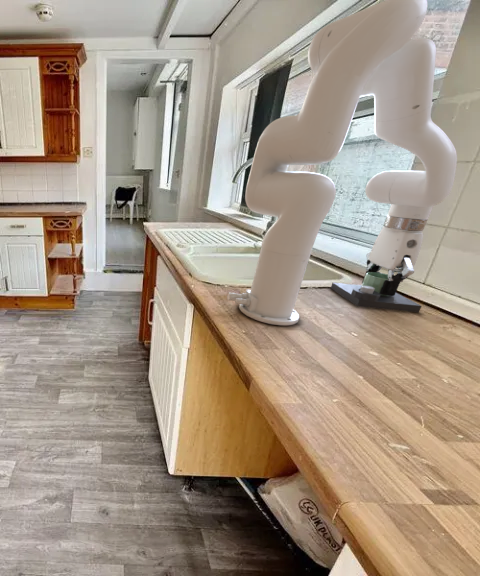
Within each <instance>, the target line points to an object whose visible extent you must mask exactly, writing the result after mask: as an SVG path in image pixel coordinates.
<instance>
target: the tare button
mask: <svg viewBox="0 0 480 576" xmlns="http://www.w3.org/2000/svg"><path fill="white" fill-rule="evenodd" d="M374 289H375V288H373V287H370V286H364V285H363V286H362V287H361V289H360V291H361V292H364V293H368V294H373V292H374Z"/></svg>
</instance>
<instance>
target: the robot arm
mask: <svg viewBox="0 0 480 576" xmlns="http://www.w3.org/2000/svg"><path fill="white" fill-rule="evenodd" d="M427 12H428V0H383V1H381V2H378V3H376V4H374V5H371V6H369V7H366V8H363V9H361V10H359V11H358V12H354V13H352V14H349V15H347V16H345V17H342V18H339V19H337V20H335V21H332V22H331V23H329V24H327V25H325V26H324V27H322V28H321V29H320V30H318V31H317V33H315V35H314V37H313V38H312V40H311V42H310V44H309V46H308V51H307V62H308V66H309V68H310V69H311V71H312V72H313V73H314V74H313V76H312V78H311V80H310V82H309V85H308V87H307V91H306V94H305V97H304V99H303V102H302V106H301V108H300V110H299V113H297V114H294V115H287V116H282V117H279V118H276V119H275V120H273V121H271V123H270V122H269V124H268V125H267V126H266V127H265V128H264V130H263V131H262V133H261V134H260V136H259V138H258V140H257V144H256V147H255V151H254V155H253V159H252V162H251V166H250V171H249V175H248V179H247V183H246V187H245V193H244V194H245V196H244V197H245V198H244V199H245V204H246V206H247V208H248V209H249V210H250V211H251V212H253V213H255V214H259V215H262V216H263V215H264V216H269V217H273V218H277V219H276V220H275V221H274V223H273V224H272V225H271V226H270V227H269V228H268V230H267V231H266V232H265V234H264V236H263V238H262V241H261V246H260V251H259V255H258V259H257V263H256V267H255V271H254V275H253V279H252V283H251V287H250V289H246V290H245V292H241V293H236V292H227V296H226V301H233V302H234V304H235V305H238V308H239V311H240V312H241V313H242V314H244V315H245V316H247V317H249V318H251V319H252V320H256V321H258V322H261V323H265V324H269V325H275V326H292V325H295V324H297V323H298V322H299V320H300V314H299V313H298V312H297V311H296V309H295V305H296V302H297V299H298V296H299V293H300V290H301V286H302V283H303V280H304V277H305V274H306V271H307V267H308V263H309V261H310V257H311V255H312V252H313V248H314V245H315V242H316V239H317V236H318V234H319V231H320V229H321V226H322V225H323V223H324V221H325V219H326V217H327V215H328V213H329V211H330V210H331V208H332V206H333V204H334V202H335V198H336V195H337V188H336V185H335V182H334V181H333V179H331V178H330V177H328V176H327V175H325V174H322V173H318V172H310V171H288V168H289V166H314V165H315V166H317V165H324V164H327V163H329V162H331V161H333V160H334V159H335V158H336V157H337V156H338V155H339V153H340V152H341V150H342V148H343V146H344V143H345V141H346V138H347V135H348V133H349V130H350V127H351V123H352V121H353V118H354V115H355V111H356V109H357V107H358V104H359V100H360V98H362V97H369V96H373V100H374V101H373V103H374V105H373V106H374V108H373V109H374V112H373V113H374V121H373V122H374V123H373V124H374V127H373V128H374V129H373V131H374V134H375V136H376V137H377V138H378V139H380V140H383V141H384V142H387V143H389V144H391V145H394V146H397V147H399V148H401V149H404V150H406V151H408V152H410V153H411V154H413V155H414V156H416V157H417V158H418V159H419V160H420V161H421V163H422V165H423V168H424V170H385V171H384V170H383V171H381V172H378V173H377V174H375V175H373V176H372V177H371V178H370V179H369V180H368V181H367V182H366V185H365V188H364V192H365V195H366V197H367V199H369V200H370V201H371V202H375V203H379V204H386V205H387V204H388V205H390V206H389V209H388V212H387V214H386V217H385V220H384V222H383V225H382V227H381V229H380V231H379V233H378V235H377V237H376V238H375V240H374V243H373V245H372V246H371V247H372V248H371V250H370V252H368V253H367V254H366V267H365V273H364V276H363V278H362V282H361V284H362V283H363V281H364V278H365V275H366V273H367V272H378V273H381V272H380V270H382V268H383V269H385V270H387V274H388V280H385V281H384V284H383V286H382V289H381V291H380V294H381V295H389V296H394V295H395V293H397V291H398V288H399V286H400V284H401V283H403V282H404V280H406V279H408V277H410V276H412V275H413V274H414V273H415V269H414V268H415V265H416V263H417V260H418V258H419V255H420V252H421V249H422V244H423V240H424V233H423V232H424V229H425V227H426V224H427V222H428V220H429V218H430V215H431V213H432V211H433V208H434V207H435V206H437V205H440V204H441V203H443V202H444V201H445V200H446V199H447V198H448V197H449V196H450V194H451V192H452V190H453V186H454V183H455V180H456V179H455V177H456V171H457V164H458V153H457V149H456V148H455V145H454V143H453V142H452V140H451V138H450V137H449V136H448V135H447V134H446V133H445V132H444V131H443V129H442V128H441V127H439V126H438V125H437V124H436V123H435V122H433V120H432V107H433V96H434V82H435V72H436V60H437V59H436V58H437V46H436V44H435V42H434V40H433V39H430V38H427V37H416V38H413V37H414V36H415V35H416V33H417V32H418V31H419V29H420V28H421V26H422V24H423V22H424V20H425V18H426V15H427ZM395 273H396V274H395Z"/></svg>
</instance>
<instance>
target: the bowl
mask: <svg viewBox="0 0 480 576" xmlns="http://www.w3.org/2000/svg"><path fill="white" fill-rule="evenodd" d="M378 272H379V271H377V272H367V273H366V272H365V273H366V275H365V274H364V276H365V278H364V277H363V279H364V281H363V280H362V281H363V283H362V282H361V285H362V286H363V285H364V286H370V287H373V288H375V289H374V291H376V292H378V293H380V291H381V289H382V286H383V284H384V281H385V280H388V273H383V272H380V273H378ZM362 286H361V287H362ZM380 295H381V294H380ZM382 296H389V295H382Z"/></svg>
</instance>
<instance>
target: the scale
mask: <svg viewBox="0 0 480 576" xmlns="http://www.w3.org/2000/svg"><path fill="white" fill-rule="evenodd" d="M361 286H362V284H353V283H352V284H351V283H342V282H332V283H331V285H330V289H331V291H333V292H335V293H337V294H338V295H340V297H343V298H344V299H346V300H347V301H349V302H350V303H351V304H353V305H354V306H356V307H362V308H372V309H381V310H390V311H400V312H412V313H420V311H421V308H422V305H421V304H419V303H417V302H415V301H413V300H411V299H409V298H407V297H405V296H403V295H402V294H400V293H398V292H396V293H395V295H394V296H382V295H380V293H378V292H376V291H374V292H373V294H368V293H364V292H361V291H360V289H361Z"/></svg>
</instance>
